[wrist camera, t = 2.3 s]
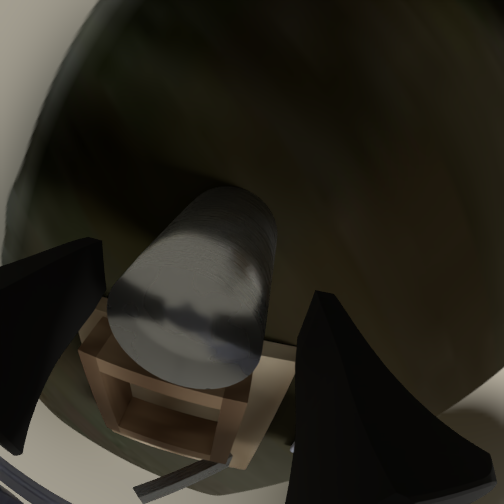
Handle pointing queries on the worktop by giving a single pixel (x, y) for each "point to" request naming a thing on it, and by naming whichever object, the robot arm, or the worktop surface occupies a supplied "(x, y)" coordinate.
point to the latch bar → (178, 479)
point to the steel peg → (200, 292)
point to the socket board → (183, 399)
